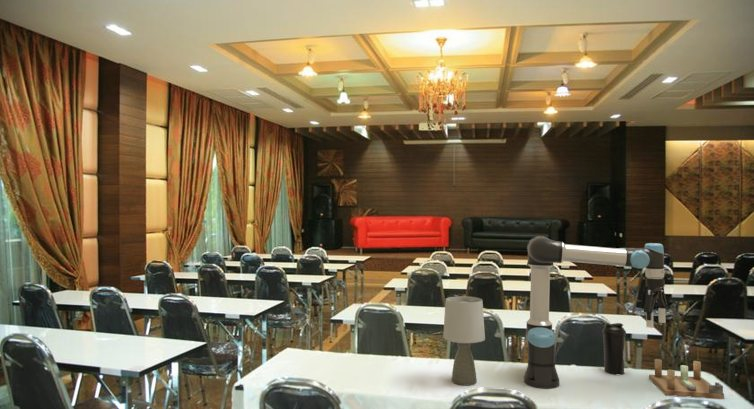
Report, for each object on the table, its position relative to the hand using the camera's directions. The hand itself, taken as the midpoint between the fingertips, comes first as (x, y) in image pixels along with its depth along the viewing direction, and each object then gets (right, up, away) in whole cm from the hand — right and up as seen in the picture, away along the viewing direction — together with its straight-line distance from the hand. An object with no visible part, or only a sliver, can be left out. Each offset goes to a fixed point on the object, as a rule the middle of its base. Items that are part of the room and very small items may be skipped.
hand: (656, 325), depth 240 cm
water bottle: (-13, -26, +14) cm, 32 cm away
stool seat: (+7, -25, -9) cm, 28 cm away
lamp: (-86, -26, 0) cm, 90 cm away
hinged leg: (+7, -23, -13) cm, 27 cm away
